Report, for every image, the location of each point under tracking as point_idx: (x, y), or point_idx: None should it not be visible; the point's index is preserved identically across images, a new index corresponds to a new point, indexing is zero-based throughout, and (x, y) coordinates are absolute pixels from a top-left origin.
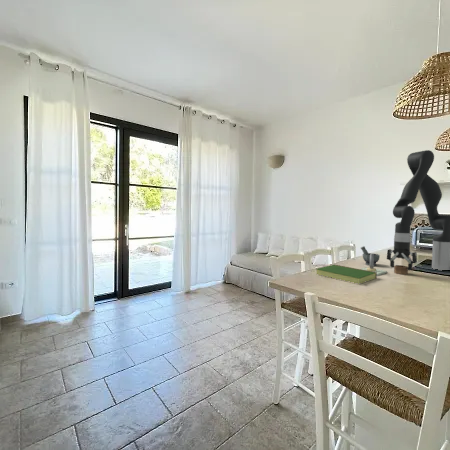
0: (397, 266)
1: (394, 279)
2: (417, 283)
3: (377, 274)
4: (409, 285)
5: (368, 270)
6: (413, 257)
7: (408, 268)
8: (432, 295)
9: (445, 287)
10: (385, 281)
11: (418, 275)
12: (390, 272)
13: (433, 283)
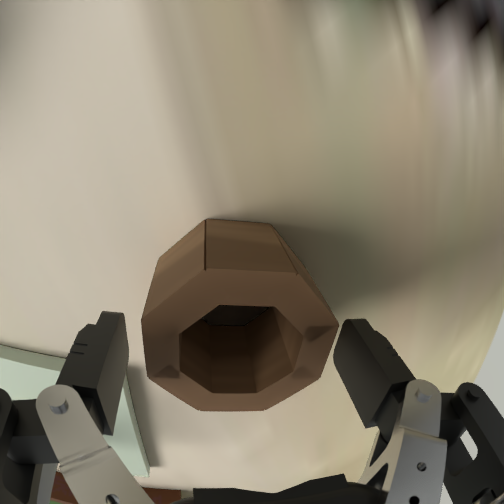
0: (204, 394)
1: (259, 468)
2: (371, 445)
3: (148, 472)
4: None
5: None
6: (463, 496)
7: (344, 376)
8: None
9: None
10: None
11: (400, 248)
12: (134, 334)
13: (442, 390)
